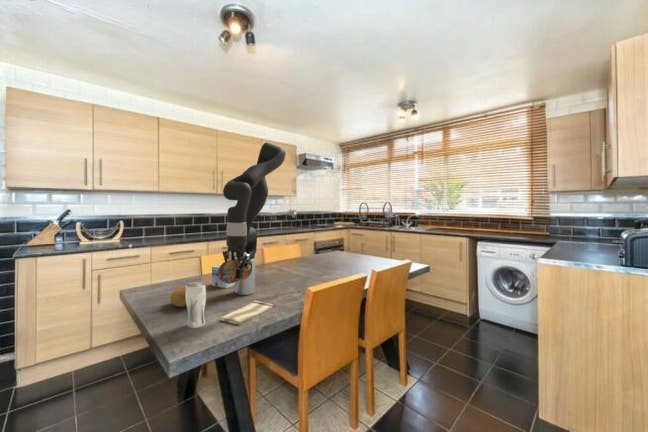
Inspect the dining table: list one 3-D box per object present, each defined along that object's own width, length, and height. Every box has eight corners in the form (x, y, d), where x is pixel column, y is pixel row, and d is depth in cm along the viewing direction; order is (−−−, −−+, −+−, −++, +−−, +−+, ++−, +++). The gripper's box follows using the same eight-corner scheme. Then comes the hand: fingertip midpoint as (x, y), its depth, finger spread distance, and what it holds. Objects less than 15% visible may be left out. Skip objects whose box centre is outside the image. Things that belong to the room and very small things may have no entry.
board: (219, 320, 105) (219, 316, 105) (254, 303, 123) (254, 300, 123) (239, 325, 101) (239, 321, 101) (272, 307, 119) (272, 304, 119)
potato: (193, 298, 128) (193, 281, 128) (197, 308, 116) (196, 290, 116) (169, 302, 123) (169, 284, 123) (170, 313, 111) (170, 293, 111)
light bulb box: (211, 285, 149) (211, 266, 148) (220, 282, 155) (220, 263, 155) (226, 288, 145) (226, 268, 144) (235, 285, 151) (235, 265, 150)
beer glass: (190, 321, 104) (189, 281, 103) (209, 320, 104) (208, 281, 104) (182, 329, 97) (181, 287, 96) (202, 328, 97) (202, 287, 97)
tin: (221, 286, 100) (222, 263, 99) (216, 284, 102) (217, 261, 101) (252, 277, 113) (253, 257, 112) (247, 275, 115) (248, 255, 114)
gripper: (216, 233, 106) (216, 277, 107) (242, 236, 100) (241, 283, 100) (231, 231, 113) (231, 273, 114) (257, 234, 106) (256, 278, 107)
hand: (236, 277), depth 107 cm, fingers closed on tin, 2 cm apart
